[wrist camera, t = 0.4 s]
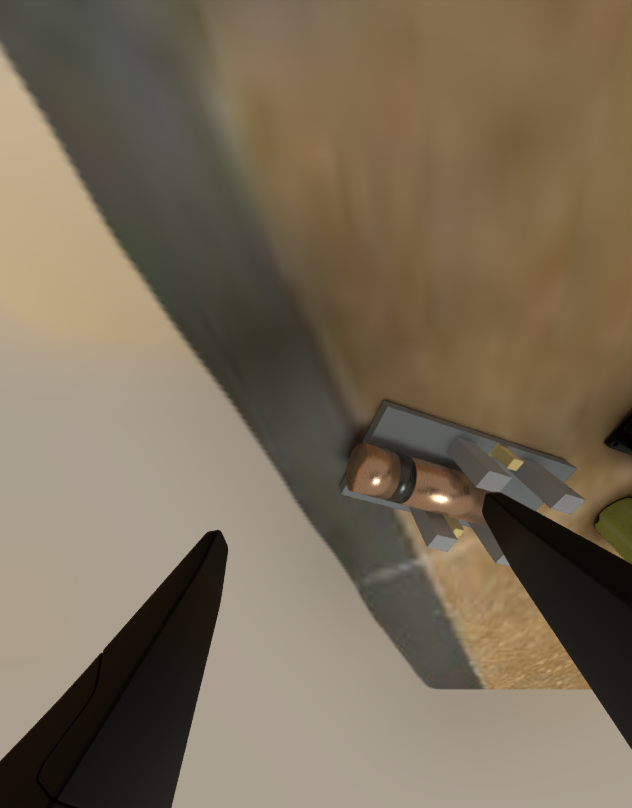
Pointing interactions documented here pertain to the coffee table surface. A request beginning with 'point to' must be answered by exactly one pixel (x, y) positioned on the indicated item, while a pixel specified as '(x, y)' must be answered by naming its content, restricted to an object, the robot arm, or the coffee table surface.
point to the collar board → (435, 444)
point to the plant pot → (618, 527)
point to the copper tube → (414, 483)
